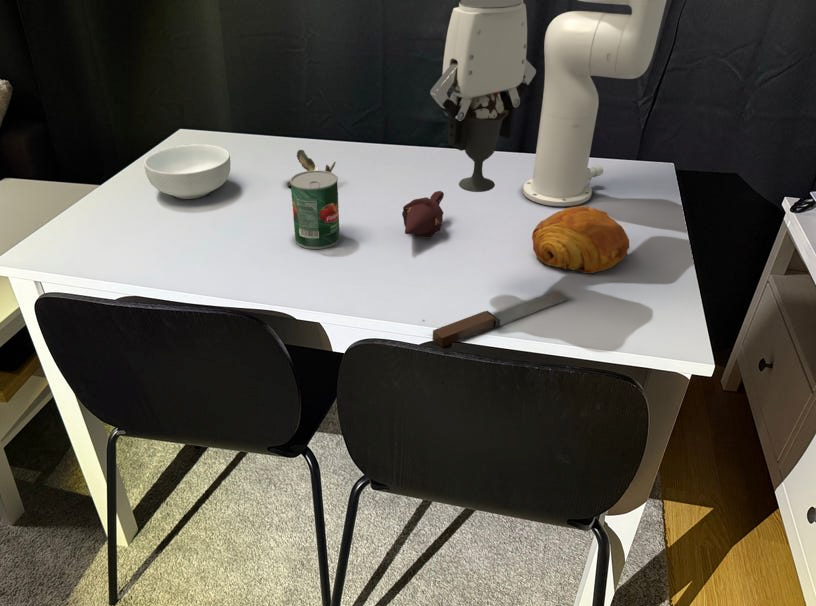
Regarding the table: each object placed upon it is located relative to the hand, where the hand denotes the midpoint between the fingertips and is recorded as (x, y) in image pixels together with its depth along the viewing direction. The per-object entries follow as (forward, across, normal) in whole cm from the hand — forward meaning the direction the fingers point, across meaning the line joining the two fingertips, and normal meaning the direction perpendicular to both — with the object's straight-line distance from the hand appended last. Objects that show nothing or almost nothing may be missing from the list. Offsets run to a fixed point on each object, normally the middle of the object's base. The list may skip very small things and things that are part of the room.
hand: (480, 140), depth 95 cm
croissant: (+23, -22, +1) cm, 32 cm away
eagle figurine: (+23, +2, -50) cm, 55 cm away
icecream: (+23, -5, -19) cm, 30 cm away
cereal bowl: (+23, +23, -61) cm, 69 cm away
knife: (+23, 0, +9) cm, 25 cm away
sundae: (+6, 0, 0) cm, 6 cm away
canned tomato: (+23, +11, -28) cm, 38 cm away
